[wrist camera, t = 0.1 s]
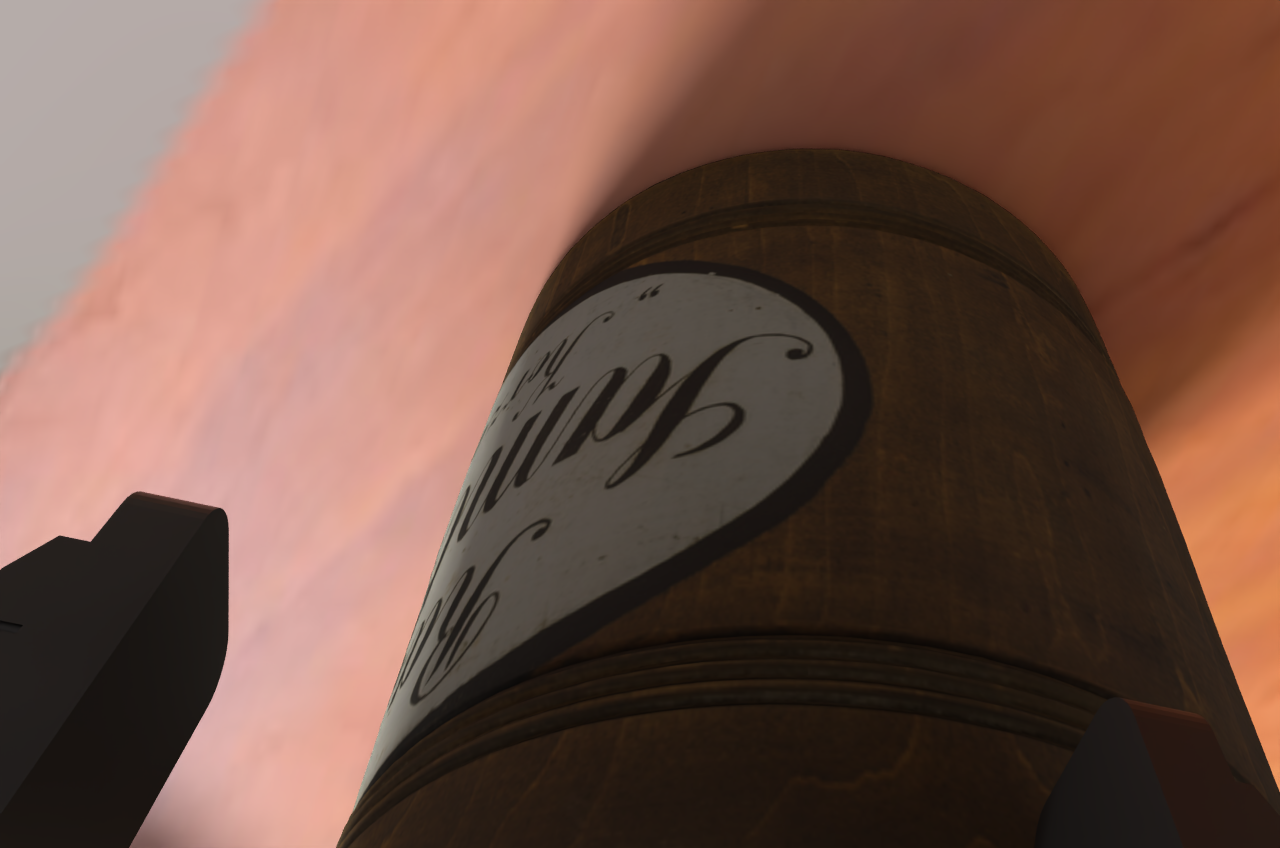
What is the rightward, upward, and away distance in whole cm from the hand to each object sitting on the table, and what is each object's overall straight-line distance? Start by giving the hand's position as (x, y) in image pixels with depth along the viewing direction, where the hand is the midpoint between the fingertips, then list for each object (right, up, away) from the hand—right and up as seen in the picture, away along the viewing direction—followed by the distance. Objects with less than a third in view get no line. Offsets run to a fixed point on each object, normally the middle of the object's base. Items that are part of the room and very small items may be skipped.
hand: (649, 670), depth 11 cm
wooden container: (+4, +3, +19) cm, 20 cm away
